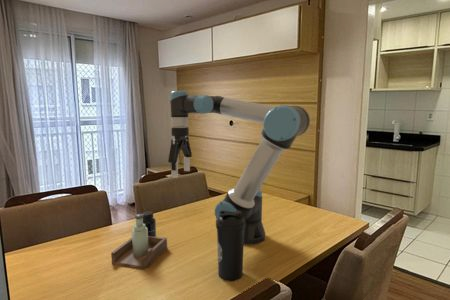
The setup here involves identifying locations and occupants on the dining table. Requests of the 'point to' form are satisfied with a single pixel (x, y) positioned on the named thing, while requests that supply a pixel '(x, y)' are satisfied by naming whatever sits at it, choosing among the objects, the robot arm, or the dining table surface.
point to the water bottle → (230, 244)
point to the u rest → (126, 258)
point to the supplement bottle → (149, 223)
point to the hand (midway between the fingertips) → (181, 174)
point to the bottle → (140, 237)
